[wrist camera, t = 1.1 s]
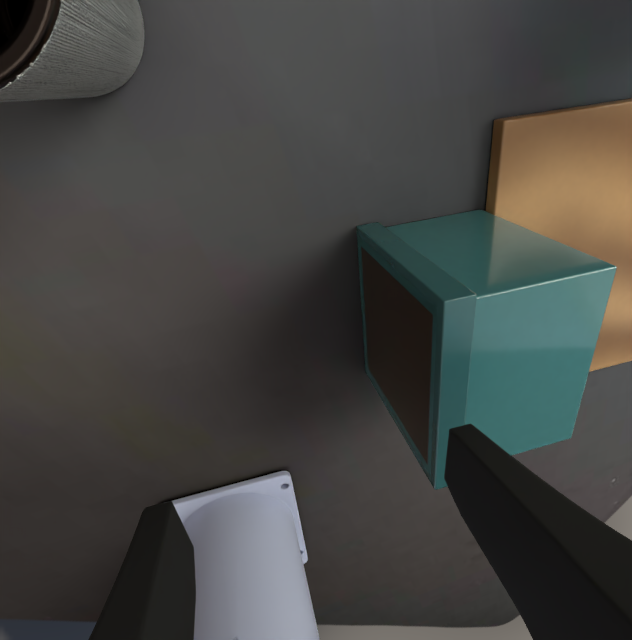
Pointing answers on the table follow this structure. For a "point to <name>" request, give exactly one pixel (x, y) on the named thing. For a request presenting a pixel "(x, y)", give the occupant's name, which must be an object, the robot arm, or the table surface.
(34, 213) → the table surface
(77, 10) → the planter
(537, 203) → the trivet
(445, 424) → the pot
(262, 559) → the robot arm
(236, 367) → the table surface
